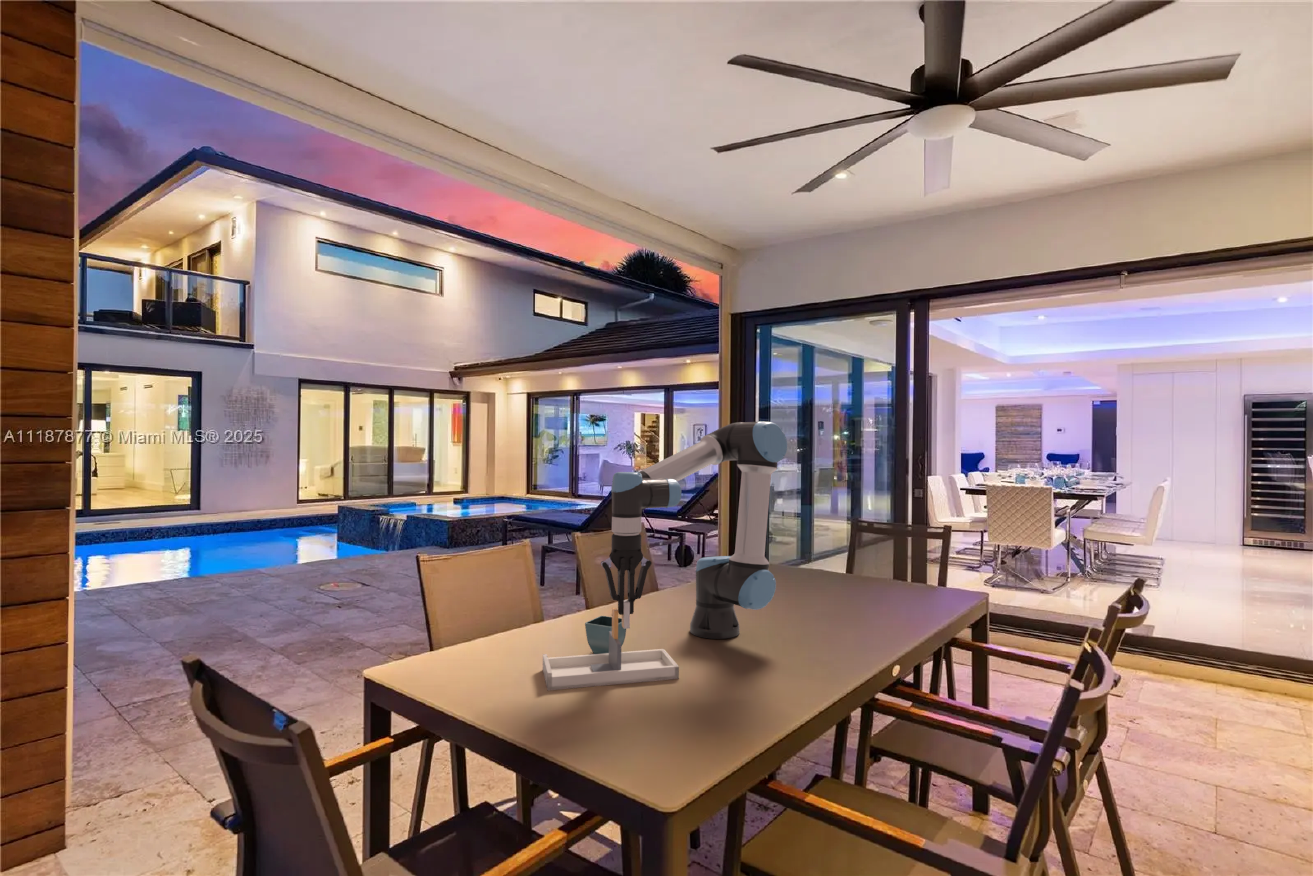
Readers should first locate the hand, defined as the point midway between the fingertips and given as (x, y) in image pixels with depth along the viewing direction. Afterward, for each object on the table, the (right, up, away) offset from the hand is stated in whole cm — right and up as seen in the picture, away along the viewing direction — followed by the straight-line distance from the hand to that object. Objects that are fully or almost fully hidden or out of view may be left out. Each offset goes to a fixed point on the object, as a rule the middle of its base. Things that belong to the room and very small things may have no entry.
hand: (625, 627), depth 163 cm
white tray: (-4, -12, -1) cm, 12 cm away
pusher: (-5, -10, -1) cm, 12 cm away
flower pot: (-6, -12, +15) cm, 20 cm away
